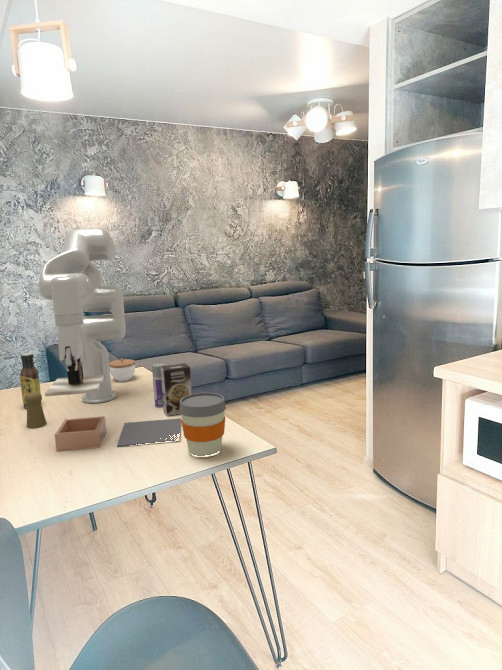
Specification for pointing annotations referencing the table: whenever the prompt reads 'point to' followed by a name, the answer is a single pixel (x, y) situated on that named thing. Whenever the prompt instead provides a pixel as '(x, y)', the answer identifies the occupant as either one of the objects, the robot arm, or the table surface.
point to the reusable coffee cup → (203, 422)
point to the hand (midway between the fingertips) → (76, 380)
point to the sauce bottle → (28, 376)
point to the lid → (76, 385)
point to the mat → (149, 432)
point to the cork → (34, 410)
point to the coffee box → (175, 387)
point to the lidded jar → (122, 369)
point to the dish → (80, 433)
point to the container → (157, 384)
